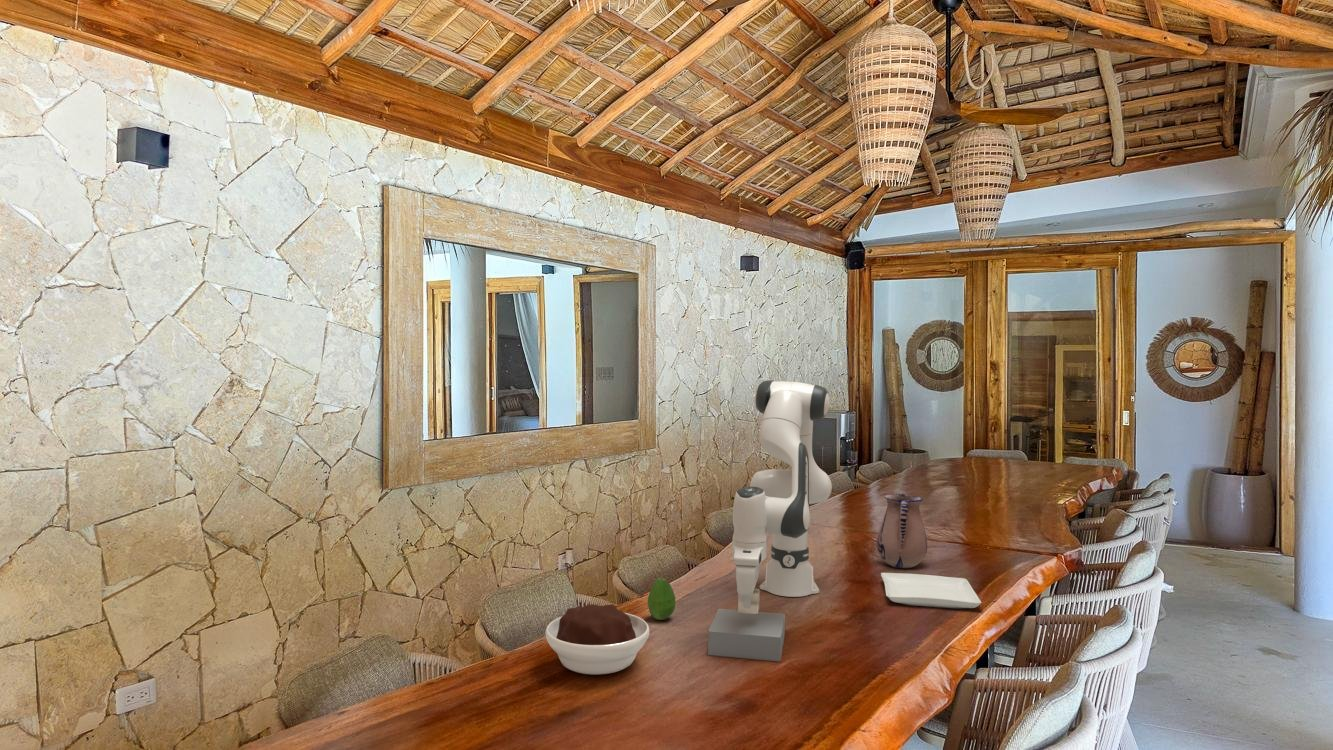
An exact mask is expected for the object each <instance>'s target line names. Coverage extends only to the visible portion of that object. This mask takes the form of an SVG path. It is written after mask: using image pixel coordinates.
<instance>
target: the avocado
mask: <svg viewBox="0 0 1333 750" xmlns="http://www.w3.org/2000/svg"><path fill="white" fill-rule="evenodd" d="M647 608H648V611H649V614H650V615H651V617H653V618H654V619H655V620H656V621H657V620H658V621H664V620H667V619H668V618H670V617H671V616H672V615H673V613H674V610H675V609H676V595H675V592H674V589H673V588H672V585H671V584H670V582H669V581H668V580H667V579H666V578H664V577H659V578H657V579H656V580H655V581H654V582H653V584H652V585H651V588H650V591H649V594H648V597H647Z"/></svg>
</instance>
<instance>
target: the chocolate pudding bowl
mask: <svg viewBox="0 0 1333 750" xmlns="http://www.w3.org/2000/svg"><path fill="white" fill-rule="evenodd" d="M649 636H650V627H649V624H648V622H646V621H645V620H644V619H643V618H642V617H639V616H638V615H635V614H631V613H628V612H625V611H622V610H620V609H618V608H617V606H616V605H615V604H605V605H598V604H587V605H584V606H576V607H571V608H568V609H566V611H565V614H563V615H562V616H559V617H557V618H555V619H554V620H552V621H551V622H550V623H549V624H547V626H546V629H545V638H546V641H547V644H549V646H550V648H551V649H552V650H553V651H554V652H555V653H556V654H557V656H558V659H559V660H560V662H561V665H562V666H564V668H566V669H567V670H570V671H572V672H575V673H578V674H583V675H593V676H594V675H598V676H599V675H608V674H612V673H613V674H614V673H616V672H619V671H622V670H625V669H626V668H628V667H629V666H631V665H632V664H633V663H634V661H635V659H636V657H637V654H638V652H639V651H640V650H641V649H642V648H643V646H644V645H645V644H646V643H647V641H648V638H649Z"/></svg>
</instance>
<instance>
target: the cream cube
mask: <svg viewBox="0 0 1333 750" xmlns="http://www.w3.org/2000/svg"><path fill="white" fill-rule="evenodd" d="M737 596H738V597H737V610H738V613H750V614H758V612H760V611H759V610H760V588H755V589H754V592H753V595H752V596H751V607H750V608H744V601H743V596H739V595H738V594H737Z"/></svg>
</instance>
